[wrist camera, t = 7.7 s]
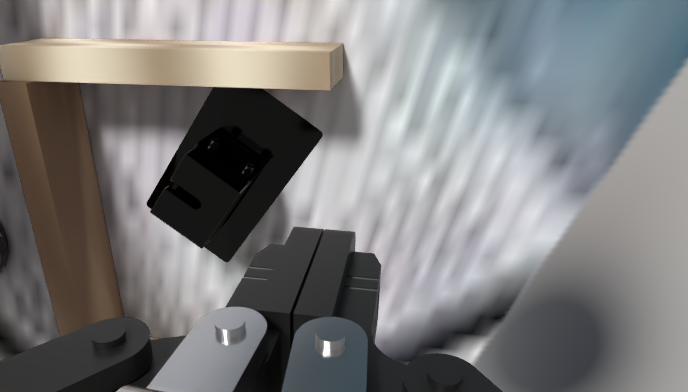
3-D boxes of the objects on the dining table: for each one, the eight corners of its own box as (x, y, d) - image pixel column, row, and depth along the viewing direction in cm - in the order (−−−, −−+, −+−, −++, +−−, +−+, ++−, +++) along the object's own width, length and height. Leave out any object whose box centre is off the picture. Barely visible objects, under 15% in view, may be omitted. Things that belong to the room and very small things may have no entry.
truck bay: (109, 351, 34) (74, 391, 30) (42, 38, 26) (-14, 47, 23) (344, 380, 31) (333, 426, 28) (342, 43, 24) (327, 54, 21)
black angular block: (234, 26, 25) (192, 36, 21) (359, 120, 26) (342, 148, 22) (126, 212, 30) (74, 251, 26) (233, 287, 31) (199, 337, 27)
